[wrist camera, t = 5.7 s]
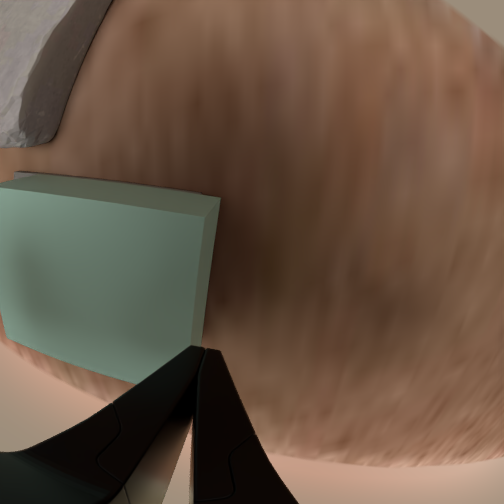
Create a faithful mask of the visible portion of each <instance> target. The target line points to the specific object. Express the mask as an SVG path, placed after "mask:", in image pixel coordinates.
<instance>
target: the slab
mask: <svg viewBox="0 0 504 504" xmlns="http://www.w3.org/2000/svg"><path fill="white" fill-rule="evenodd" d="M220 201H221V198H220V197H213V196H207V195H201V194H195V193H188V192H181V191H175V190H168V189H161V188H154V187H147V186H139V185H132V184H124V183H116V182H108V181H100V180H91V179H82V178H73V177H64V176H54V175H43V174H37V175H32V176H28V177H23V178H19V179H15V180H10V181H6V182H2V183H0V311H1V315H2V320H3V324H4V328H5V332H6V336H7V338H8V339H11V340H13V341H15V342H17V343H19V344H22V345H24V346H26V347H29V348H31V349H34V350H36V351H38V352H41V353H43V354H46V355H49V356H51V357H54V358H56V359H59V360H62V361H64V362H67V363H70V364H73V365H76V366H79V367H81V368H84V369H87V370H90V371H93V372H97V373H100V374H103V375H106V376H109V377H113V378H116V379H119V380H123V381H126V382H130V383H134V384H138V383H140V382H141V381H142V380H144V379H145V378H146V377H148V376H149V375H151V374H152V373H153V372H155V371H156V370H157V369H159V368H160V367H161V366H163V365H164V364H166V363H167V362H168V361H170V360H171V359H172V358H174V357H175V356H176V355H178V354H179V353H180V352H182V351H183V350H184V349H186V348H187V347H188V346H190V345H195V346H200V347H201V342H202V333H203V324H204V316H205V308H206V300H207V292H208V285H209V277H210V270H211V262H212V255H213V248H214V241H215V234H216V227H217V221H218V214H219V207H220Z"/></svg>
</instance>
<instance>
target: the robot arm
mask: <svg viewBox="0 0 504 504" xmlns="http://www.w3.org/2000/svg"><path fill="white" fill-rule="evenodd" d="M192 419H193V424H192V441H191V461H190V487H189V504H299V503H298V502H297V500H296V499H295V498H294V496H293V495H292V494H291V492H290V491H289V489H288V488H287V487H286V485H285V484H284V482H283V481H282V480H281V478H280V477H279V475H278V474H277V472H276V470H275V469H274V467H273V466H272V464H271V463H270V461H269V459H268V457H267V455H266V453H265V451H264V449H263V448H262V446H261V443H260V441H259V439H258V437H257V435H256V434H255V431H254V428H253V426H252V424H251V422H250V419H249V417H248V415H247V413H246V410H245V408H244V406H243V403H242V401H241V399H240V396H239V394H238V392H237V389H236V387H235V385H234V382H233V380H232V377H231V375H230V373H229V370H228V368H227V365H226V363H225V360H224V358H223V355H222V353H221V351H220V350H215V349H210V348H207V349H206V350H205V348H204V347H200V346H195V345H190V346H188V347H187V348H186V349H184V350H183V351H182V352H180V353H179V354H178V355H176V356H175V357H174V358H172V359H171V360H170V361H168V362H167V363H166V364H164V365H163V366H161V367H160V368H159V369H157V370H156V371H155V372H153V373H152V374H151V375H149V376H148V377H146V378H145V379H144V380H142V381H141V382H140V383H138V384H137V385H135V386H134V387H133V388H131V389H130V390H128V391H127V392H126V393H124V394H123V395H121V396H120V397H119V398H117V399H116V400H114V401H113V403H110V404H109V405H107V406H106V407H104V408H103V409H101V410H100V411H98V412H97V413H95V414H94V415H92V416H91V417H89V418H88V419H86V420H84V421H82V422H80V423H79V424H77V425H75V426H73V427H71V428H69V429H67V430H65V431H64V432H61V433H59V434H57V435H55V436H53V437H51V438H49V439H47V440H45V441H43V442H41V443H39V444H36V445H34V446H32V447H30V448H27V449H24V450H20V451H15V452H0V504H162V502H163V499H164V497H165V494H166V491H167V488H168V485H169V483H170V480H171V478H172V475H173V472H174V470H175V467H176V464H177V461H178V459H179V456H180V453H181V451H182V448H183V445H184V442H185V440H186V437H187V434H188V432H189V429H190V426H191V423H192Z"/></svg>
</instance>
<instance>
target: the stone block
mask: <svg viewBox="0 0 504 504" xmlns="http://www.w3.org/2000/svg"><path fill="white" fill-rule="evenodd" d="M111 1H112V0H0V147H1V148H10V147H20V148H22V147H31V146H35V145H39V144H43V143H46V142H48V141H50V140H51V139H52V138H53V137H54V135H55V133H56V131H57V129H58V126H59V123H60V121H61V118H62V114H63V111H64V108H65V106H66V103H67V100H68V97H69V94H70V92H71V89H72V86H73V83H74V81H75V78H76V76H77V73H78V71H79V68H80V66H81V64H82V62H83V59H84V57H85V54H86V52H87V50H88V48H89V46H90V44H91V41H92V39H93V37H94V35H95V33H96V31H97V29H98V27H99V25H100V23H101V22H102V20H103V17H104V15H105V12H106V10H107V8H108V6H109V5H110V3H111Z"/></svg>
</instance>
